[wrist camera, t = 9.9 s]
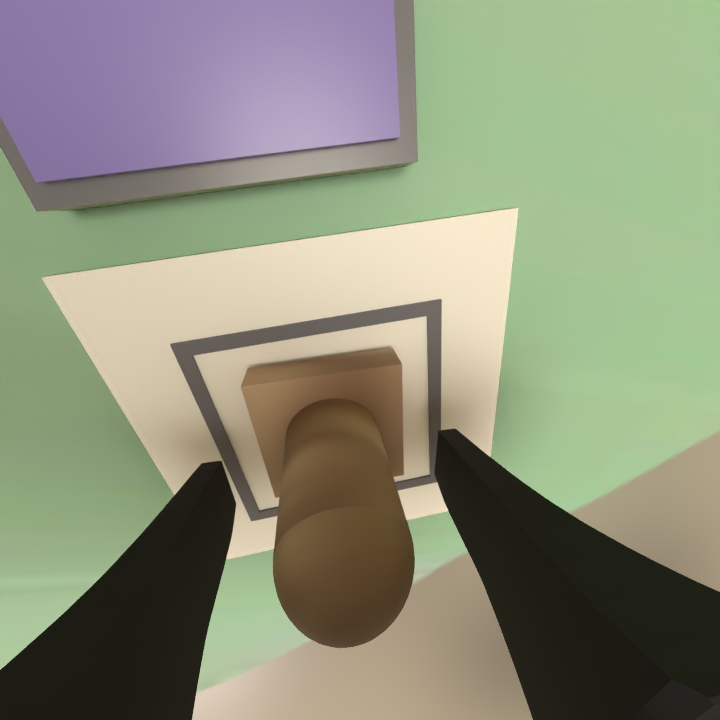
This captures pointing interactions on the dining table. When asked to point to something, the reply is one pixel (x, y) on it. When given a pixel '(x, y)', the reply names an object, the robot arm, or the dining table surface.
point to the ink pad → (201, 95)
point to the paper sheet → (300, 343)
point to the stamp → (335, 491)
